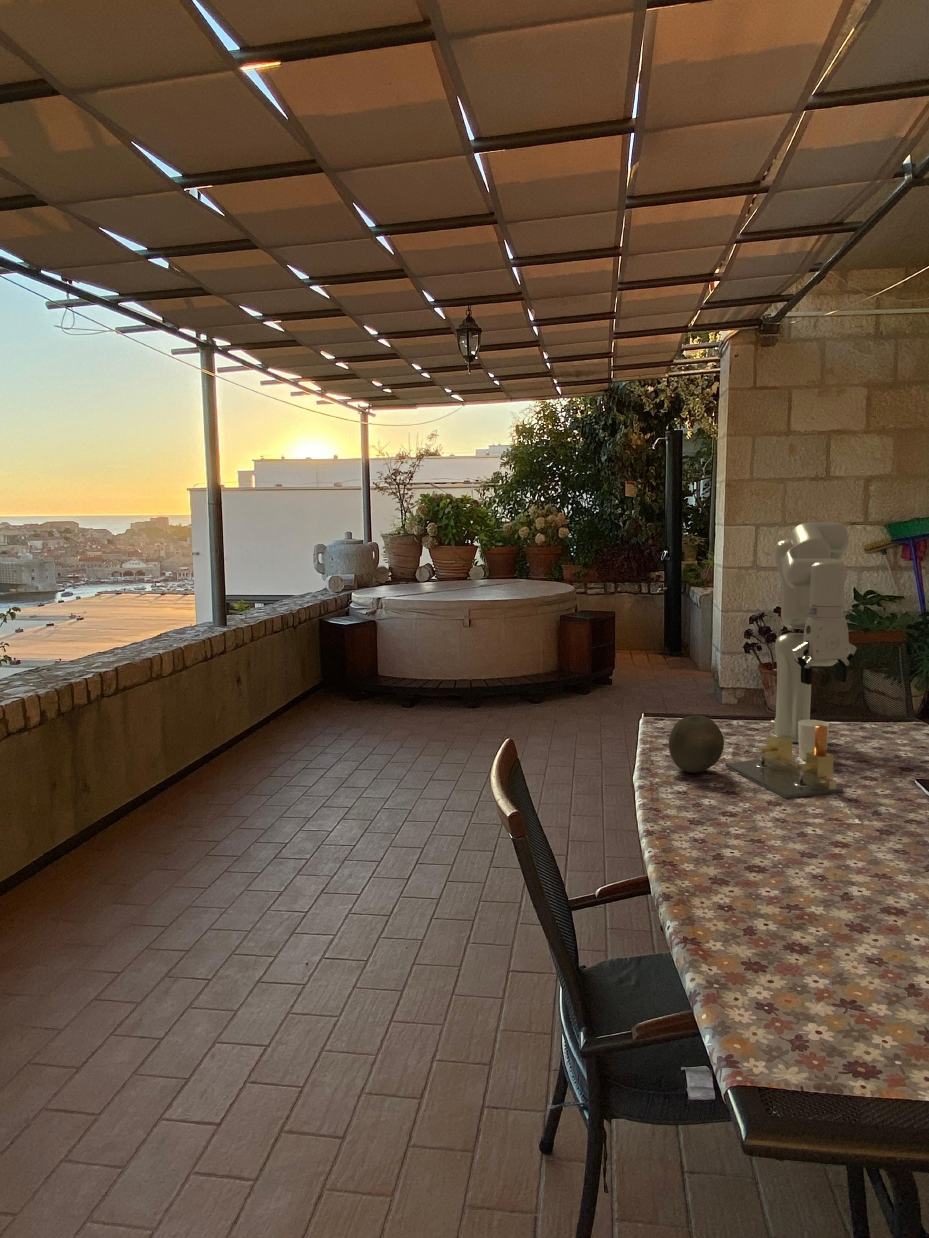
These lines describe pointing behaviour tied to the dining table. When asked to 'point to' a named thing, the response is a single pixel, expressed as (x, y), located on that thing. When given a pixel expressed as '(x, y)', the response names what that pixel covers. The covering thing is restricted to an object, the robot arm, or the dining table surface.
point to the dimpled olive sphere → (695, 743)
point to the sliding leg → (818, 756)
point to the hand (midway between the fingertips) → (823, 682)
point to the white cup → (808, 736)
